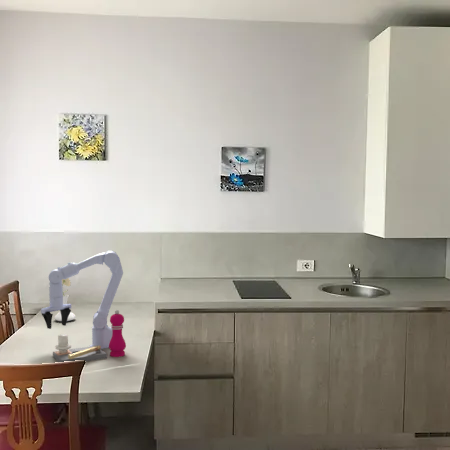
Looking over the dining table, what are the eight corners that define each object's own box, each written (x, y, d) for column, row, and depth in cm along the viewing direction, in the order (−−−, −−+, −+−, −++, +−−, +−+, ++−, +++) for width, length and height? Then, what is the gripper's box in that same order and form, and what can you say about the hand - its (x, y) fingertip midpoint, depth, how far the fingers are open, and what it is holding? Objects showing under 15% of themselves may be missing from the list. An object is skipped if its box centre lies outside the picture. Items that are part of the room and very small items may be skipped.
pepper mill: (110, 359, 240) (110, 312, 239) (107, 354, 247) (106, 309, 246) (127, 357, 243) (127, 311, 242) (123, 352, 250) (123, 307, 248)
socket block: (96, 351, 252) (96, 343, 252) (106, 359, 240) (106, 351, 240) (52, 357, 243) (52, 349, 242) (61, 366, 231) (61, 358, 230)
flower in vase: (78, 321, 310) (78, 275, 308) (58, 323, 303) (57, 277, 302) (70, 316, 320) (70, 272, 319) (50, 319, 314) (49, 274, 312)
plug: (68, 349, 246) (68, 332, 245) (73, 353, 240) (72, 336, 240) (53, 351, 242) (53, 334, 242) (57, 355, 237) (57, 338, 236)
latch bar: (97, 348, 244) (97, 345, 244) (101, 349, 243) (101, 345, 242) (67, 358, 229) (67, 355, 229) (71, 359, 228) (71, 355, 228)
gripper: (64, 293, 261) (65, 322, 262) (36, 297, 250) (37, 328, 251) (74, 295, 257) (74, 324, 257) (45, 299, 245) (46, 330, 246)
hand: (56, 326), depth 254 cm, fingers open, 7 cm apart
